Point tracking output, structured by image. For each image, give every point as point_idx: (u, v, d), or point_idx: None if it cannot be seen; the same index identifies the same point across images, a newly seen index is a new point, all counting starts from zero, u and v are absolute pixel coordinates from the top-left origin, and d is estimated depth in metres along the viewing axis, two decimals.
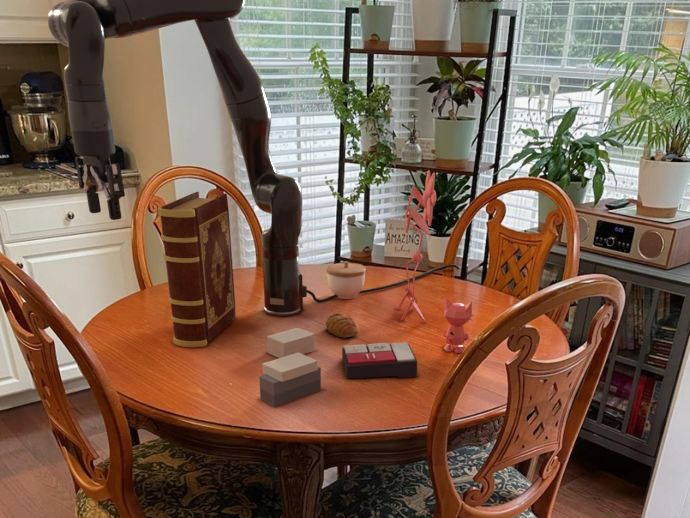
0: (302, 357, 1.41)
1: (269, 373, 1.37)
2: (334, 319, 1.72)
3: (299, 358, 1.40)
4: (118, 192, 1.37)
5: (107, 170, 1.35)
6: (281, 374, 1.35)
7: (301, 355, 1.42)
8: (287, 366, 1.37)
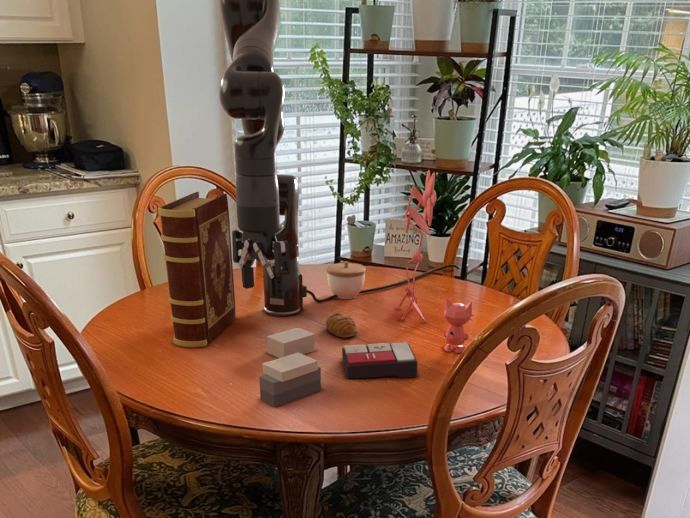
0: (302, 357, 1.41)
1: (269, 373, 1.37)
2: (334, 319, 1.72)
3: (299, 358, 1.40)
4: (284, 271, 1.27)
5: (275, 248, 1.24)
6: (281, 374, 1.35)
7: (301, 355, 1.42)
8: (287, 366, 1.37)
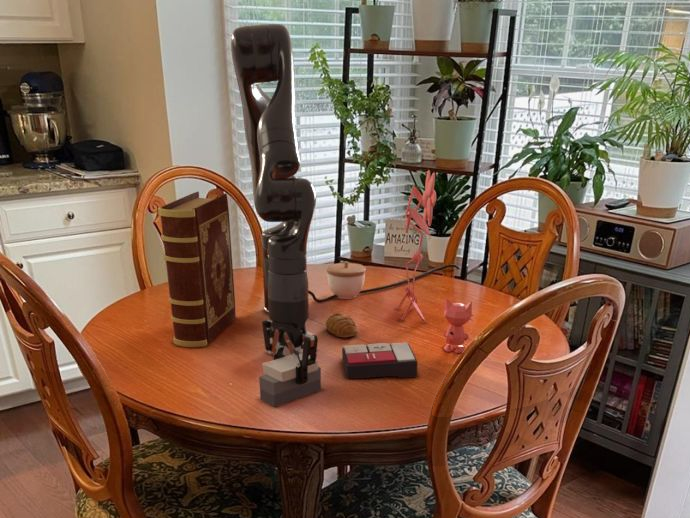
0: None
1: (269, 373, 1.37)
2: (334, 319, 1.72)
3: None
4: (310, 361, 1.34)
5: (305, 342, 1.31)
6: (281, 374, 1.35)
7: (301, 355, 1.42)
8: (287, 366, 1.37)
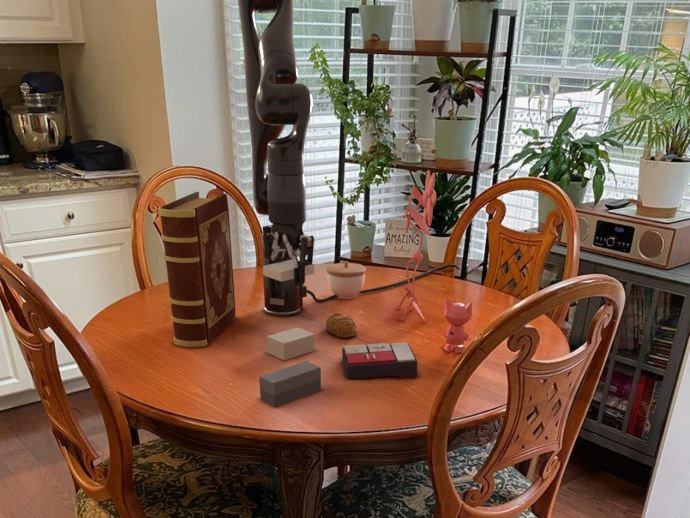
0: None
1: (269, 274, 1.47)
2: (334, 319, 1.72)
3: None
4: (307, 261, 1.44)
5: (303, 242, 1.41)
6: (280, 274, 1.44)
7: (299, 260, 1.52)
8: (286, 267, 1.47)
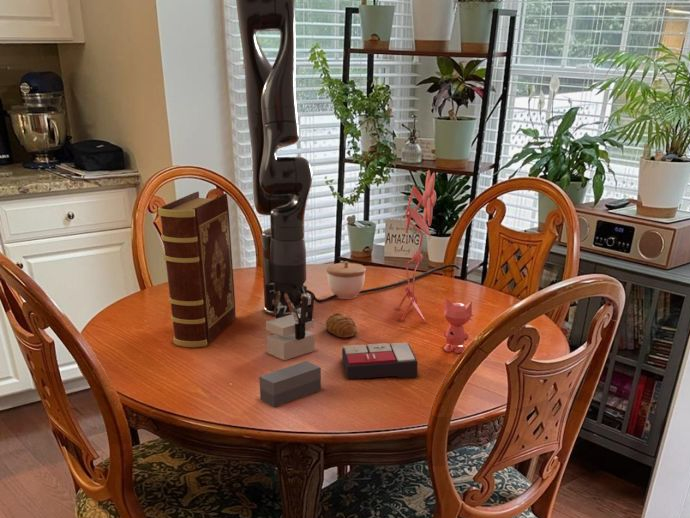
0: None
1: (271, 329, 1.57)
2: (334, 319, 1.72)
3: None
4: (307, 318, 1.54)
5: (303, 301, 1.51)
6: (282, 330, 1.54)
7: (300, 315, 1.61)
8: (287, 323, 1.56)
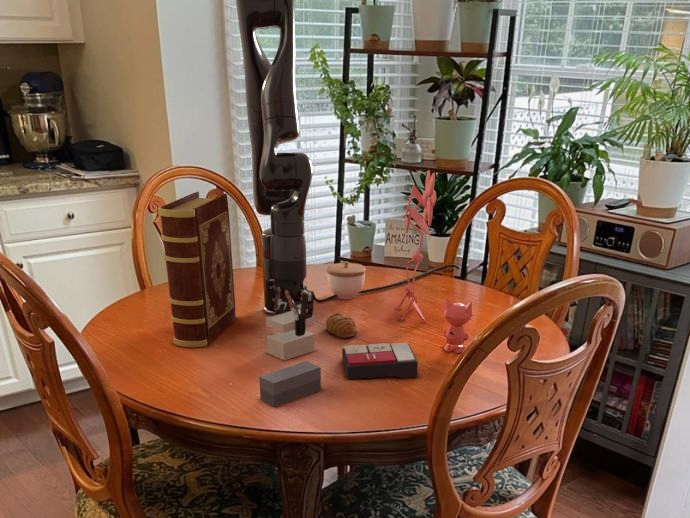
0: None
1: (272, 326, 1.56)
2: (334, 319, 1.72)
3: None
4: (307, 314, 1.53)
5: (303, 297, 1.50)
6: (282, 326, 1.54)
7: (300, 311, 1.61)
8: (288, 319, 1.56)
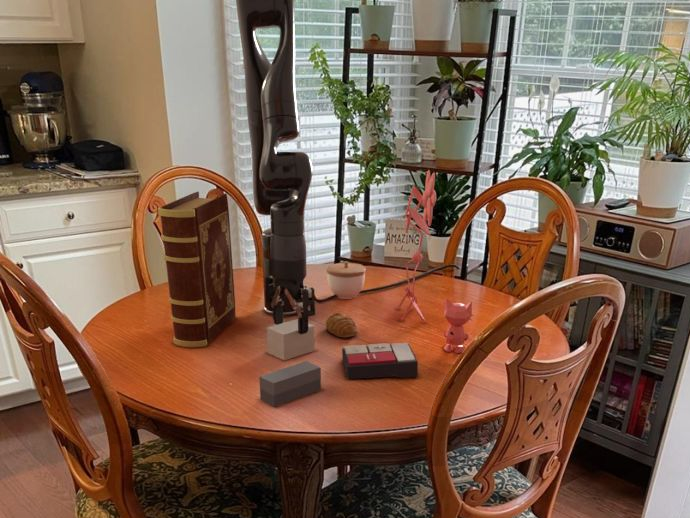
0: None
1: (272, 336, 1.58)
2: (334, 319, 1.72)
3: None
4: (310, 312, 1.52)
5: (304, 294, 1.50)
6: (282, 336, 1.55)
7: None
8: (288, 329, 1.57)
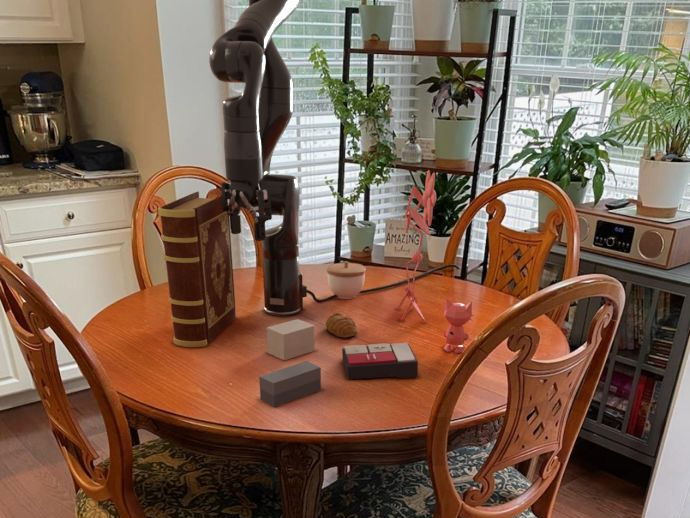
0: (301, 323, 1.61)
1: (272, 336, 1.58)
2: (334, 319, 1.72)
3: (299, 323, 1.61)
4: (266, 215, 1.47)
5: (259, 195, 1.44)
6: (282, 336, 1.55)
7: (300, 321, 1.62)
8: (288, 329, 1.57)
